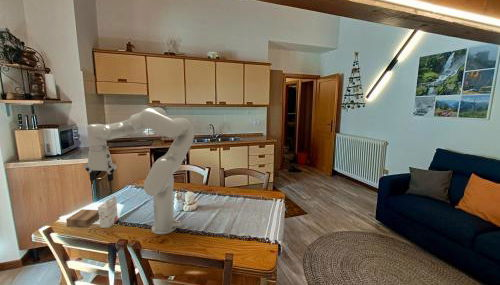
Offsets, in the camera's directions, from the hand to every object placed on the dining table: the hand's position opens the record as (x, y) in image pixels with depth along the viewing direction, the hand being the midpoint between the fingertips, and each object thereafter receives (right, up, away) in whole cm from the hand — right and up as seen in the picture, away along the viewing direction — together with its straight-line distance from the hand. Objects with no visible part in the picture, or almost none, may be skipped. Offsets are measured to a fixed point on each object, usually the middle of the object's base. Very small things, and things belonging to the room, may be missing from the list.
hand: (101, 180), depth 121 cm
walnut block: (-13, -24, +6) cm, 28 cm away
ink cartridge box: (+1, -24, +5) cm, 25 cm away
